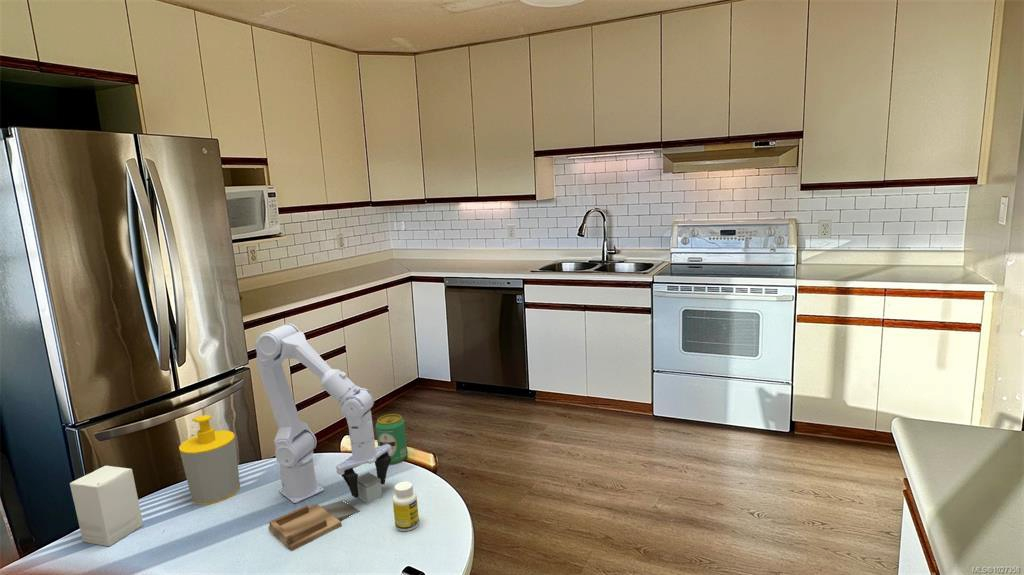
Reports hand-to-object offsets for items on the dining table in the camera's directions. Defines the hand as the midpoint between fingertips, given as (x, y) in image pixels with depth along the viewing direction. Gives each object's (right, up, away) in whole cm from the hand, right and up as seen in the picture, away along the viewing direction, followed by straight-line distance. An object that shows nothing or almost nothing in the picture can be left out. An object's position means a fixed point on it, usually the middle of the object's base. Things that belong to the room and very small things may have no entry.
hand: (368, 489), depth 145 cm
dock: (-10, -5, -9) cm, 14 cm away
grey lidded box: (0, -2, 0) cm, 2 cm away
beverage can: (+2, +2, +21) cm, 21 cm away
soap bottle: (-42, -4, +8) cm, 43 cm away
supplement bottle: (+12, -4, -13) cm, 18 cm away
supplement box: (-58, -8, -8) cm, 59 cm away
